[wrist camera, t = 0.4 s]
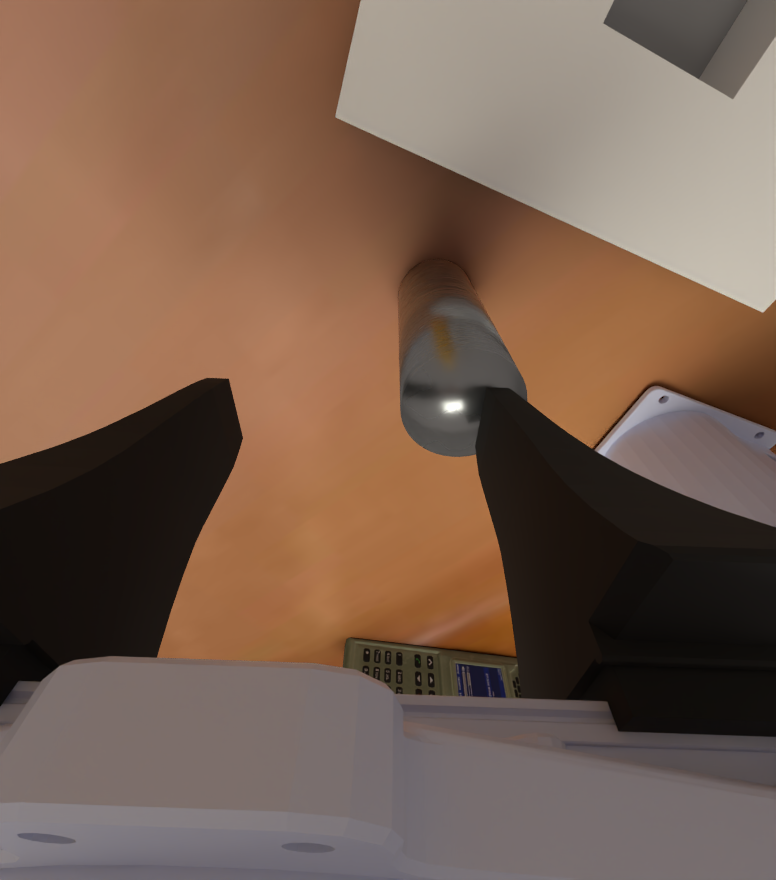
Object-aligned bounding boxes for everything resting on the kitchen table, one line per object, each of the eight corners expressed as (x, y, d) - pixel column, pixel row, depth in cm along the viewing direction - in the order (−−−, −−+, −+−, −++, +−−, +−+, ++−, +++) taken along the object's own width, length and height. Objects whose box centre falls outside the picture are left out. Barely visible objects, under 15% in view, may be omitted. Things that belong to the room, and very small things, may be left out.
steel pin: (485, 275, 19) (553, 375, 11) (452, 343, 21) (488, 469, 13) (414, 246, 18) (431, 330, 10) (387, 319, 20) (383, 437, 12)
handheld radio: (348, 632, 39) (580, 660, 42) (343, 646, 42) (565, 672, 44) (340, 709, 34) (605, 736, 37) (335, 721, 36) (586, 745, 39)
